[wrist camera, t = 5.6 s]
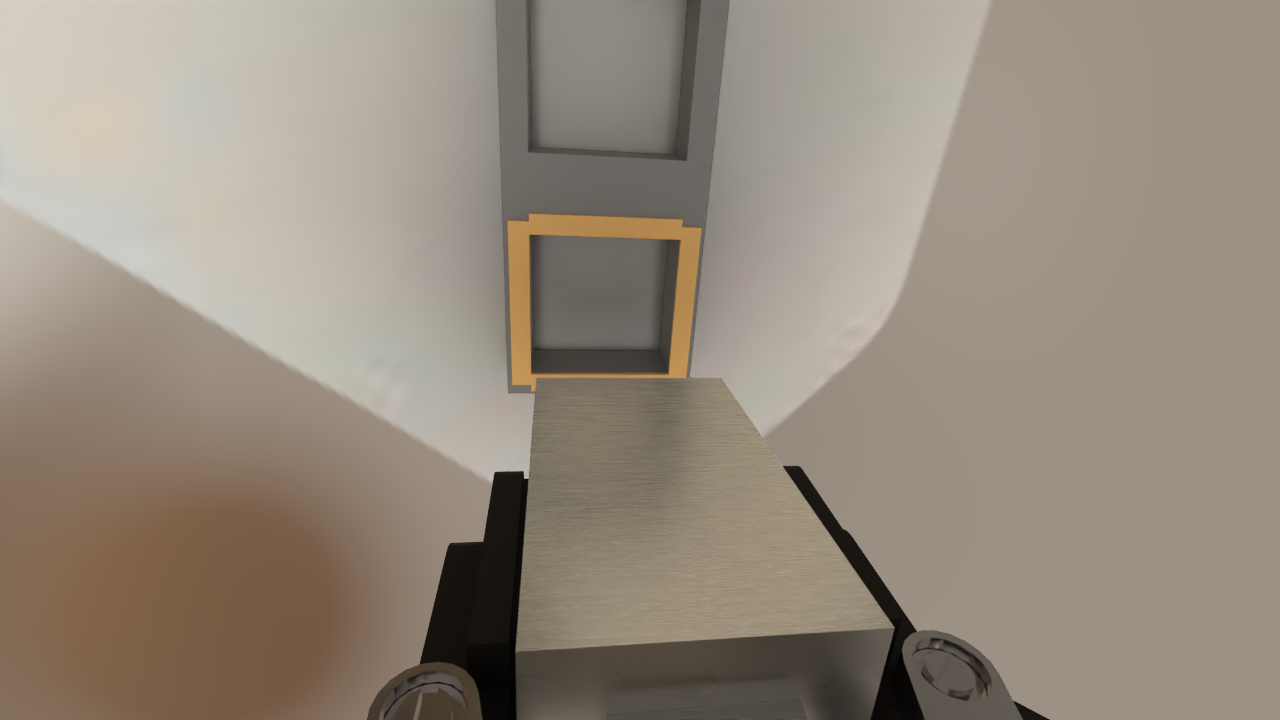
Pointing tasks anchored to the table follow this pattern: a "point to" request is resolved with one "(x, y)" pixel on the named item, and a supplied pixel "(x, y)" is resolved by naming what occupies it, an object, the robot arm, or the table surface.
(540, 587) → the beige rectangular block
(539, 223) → the frame with rectangular openings
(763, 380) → the table surface
